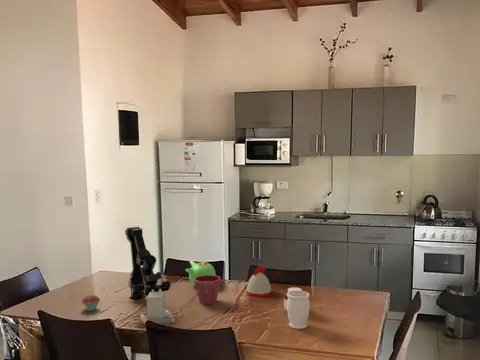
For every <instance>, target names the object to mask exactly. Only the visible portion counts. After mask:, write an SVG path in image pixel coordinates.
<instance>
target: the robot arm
mask: <svg viewBox="0 0 480 360" xmlns="http://www.w3.org/2000/svg"><path fill="white" fill-rule="evenodd" d="M124 231H125V232H124V234H125V237H126V239H127V241H128V242H129V243H130V244H129V245H130V255H131V264H132V265H131V266H132V270H131V272H130V274H129V275H130V277H129V279H128V287H129V289H130V297H129V299H131V300H136V301H137V300H138V301H139V300H141V299H143V298H145V297H146V298H147V297H148V295H149V292H168V291H170V289H171V286H172V284H171V281H170V280H163V281H161V282H160V284H158V281H159V280H160V279H162V278H163V277H162V272H161V271H157V272H156V273H154V269H155V266H156V262H157V258H156V257H155V256H154V255H152V253H151V252H150V250H148V249H147V247H146V244H145V240H144V237H143V228H141V227H140V226H127V228H126V229H125V230H124Z"/></svg>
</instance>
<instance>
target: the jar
mask: <svg viewBox="0 0 480 360" xmlns="http://www.w3.org/2000/svg"><path fill="white" fill-rule="evenodd" d="M286 294H287V297H288V299H287V311H286V313H287V317H288V322H289V323H288V326H289V327H291V328H293V329H295V330H301V329H305V328H307V327H308V324H307V323H308V319H309V315H310V314H309V313H310V307H311V304H310V300H309V298H310V293H309V292H307V291H304V290H302V291H290V292H288V291H287V293H286Z"/></svg>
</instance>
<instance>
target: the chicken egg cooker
mask: <svg viewBox="0 0 480 360" xmlns="http://www.w3.org/2000/svg"><path fill="white" fill-rule="evenodd" d="M265 270H266V268H264V266H259V267H256V269H254V271H252V276H250V278H249V279H248V281H247V286H246V295H247V296H250V297H255V298H262V297H268V296H271V295H272V288H271V287H272V286H271V284H270V281H269V278H268V277H267V276H266V275H265V274H264V273H265Z"/></svg>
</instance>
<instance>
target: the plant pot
mask: <svg viewBox="0 0 480 360" xmlns="http://www.w3.org/2000/svg"><path fill="white" fill-rule="evenodd" d="M221 283H222V282H221V277H220V276H219V275H203V276H198V277H196V278H195V279H194V284H193V285H194V287H195V289H196V292H197V293H196V294H197V297H198V302H199V303H200V304H203V305H211V304H215V303H216V302H217V299H218V294H219V290H220V286H221Z"/></svg>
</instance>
